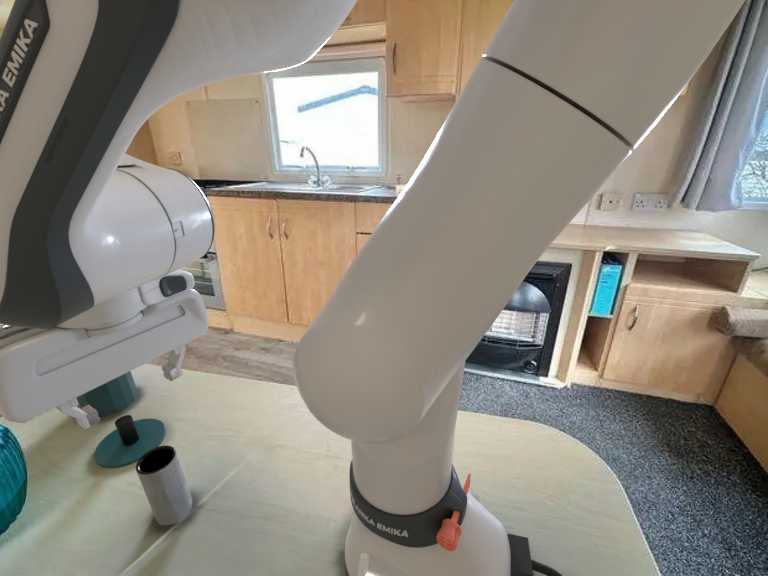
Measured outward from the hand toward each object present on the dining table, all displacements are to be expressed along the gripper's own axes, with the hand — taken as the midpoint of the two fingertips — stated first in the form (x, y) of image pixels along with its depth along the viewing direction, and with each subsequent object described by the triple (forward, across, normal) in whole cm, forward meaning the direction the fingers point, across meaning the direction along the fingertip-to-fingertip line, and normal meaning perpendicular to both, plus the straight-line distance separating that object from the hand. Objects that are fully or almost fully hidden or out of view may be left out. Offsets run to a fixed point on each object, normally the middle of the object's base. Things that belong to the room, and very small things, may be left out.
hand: (135, 398), depth 42 cm
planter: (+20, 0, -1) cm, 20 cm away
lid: (+20, +3, +17) cm, 26 cm away
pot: (+20, +7, +32) cm, 39 cm away
